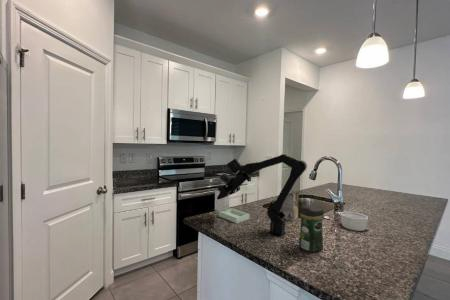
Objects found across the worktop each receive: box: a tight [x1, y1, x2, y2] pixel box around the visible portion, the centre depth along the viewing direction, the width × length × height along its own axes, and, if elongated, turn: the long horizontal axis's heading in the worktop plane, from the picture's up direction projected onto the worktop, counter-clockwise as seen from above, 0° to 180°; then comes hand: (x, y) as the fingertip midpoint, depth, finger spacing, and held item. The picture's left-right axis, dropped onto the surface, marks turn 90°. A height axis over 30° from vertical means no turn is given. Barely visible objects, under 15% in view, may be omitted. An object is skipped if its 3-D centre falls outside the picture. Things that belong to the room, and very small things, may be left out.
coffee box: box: [282, 190, 300, 222], centre depth 130 cm, size 9×6×16 cm
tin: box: [214, 187, 230, 212], centre depth 121 cm, size 6×6×12 cm
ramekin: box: [340, 211, 369, 232], centre depth 118 cm, size 13×13×7 cm
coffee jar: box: [298, 204, 325, 253], centre depth 92 cm, size 10×8×19 cm
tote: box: [218, 207, 250, 224], centre depth 128 cm, size 15×11×3 cm
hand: (220, 197), depth 122 cm, fingers closed on tin, 6 cm apart
